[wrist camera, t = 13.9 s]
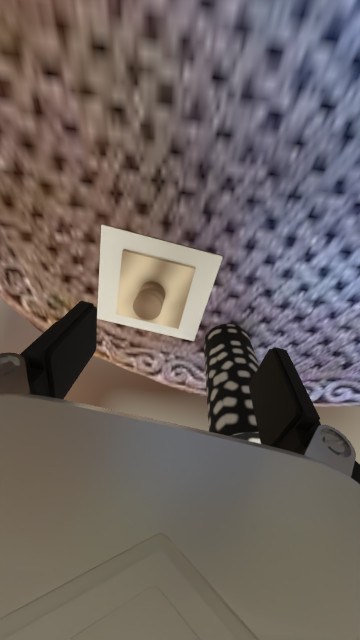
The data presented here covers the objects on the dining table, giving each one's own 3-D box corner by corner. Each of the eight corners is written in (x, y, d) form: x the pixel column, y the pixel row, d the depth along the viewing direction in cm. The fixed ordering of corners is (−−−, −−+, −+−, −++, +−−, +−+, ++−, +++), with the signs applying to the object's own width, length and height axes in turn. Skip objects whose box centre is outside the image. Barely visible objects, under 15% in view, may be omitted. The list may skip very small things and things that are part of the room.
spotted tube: (254, 326, 38) (302, 436, 21) (243, 361, 42) (276, 477, 25) (207, 321, 38) (217, 427, 21) (201, 357, 42) (205, 470, 25)
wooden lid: (195, 267, 33) (195, 281, 28) (178, 325, 38) (176, 346, 33) (124, 248, 32) (110, 259, 27) (117, 311, 38) (105, 330, 32)
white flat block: (222, 256, 32) (222, 256, 32) (193, 339, 40) (193, 341, 40) (102, 224, 31) (101, 224, 31) (98, 317, 39) (97, 318, 39)
